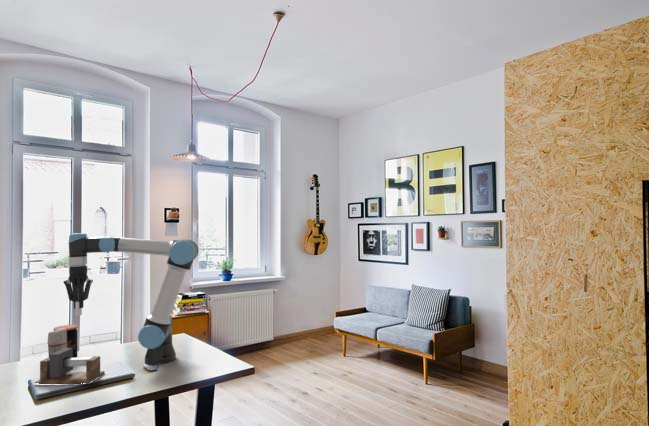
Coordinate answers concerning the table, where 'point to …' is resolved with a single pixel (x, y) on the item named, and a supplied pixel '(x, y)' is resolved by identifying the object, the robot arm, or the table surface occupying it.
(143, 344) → the robot arm
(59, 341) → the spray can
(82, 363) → the light grey long bar
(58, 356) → the tall grey notched block
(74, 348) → the coffee jar
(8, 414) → the table surface
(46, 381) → the pipe stand
